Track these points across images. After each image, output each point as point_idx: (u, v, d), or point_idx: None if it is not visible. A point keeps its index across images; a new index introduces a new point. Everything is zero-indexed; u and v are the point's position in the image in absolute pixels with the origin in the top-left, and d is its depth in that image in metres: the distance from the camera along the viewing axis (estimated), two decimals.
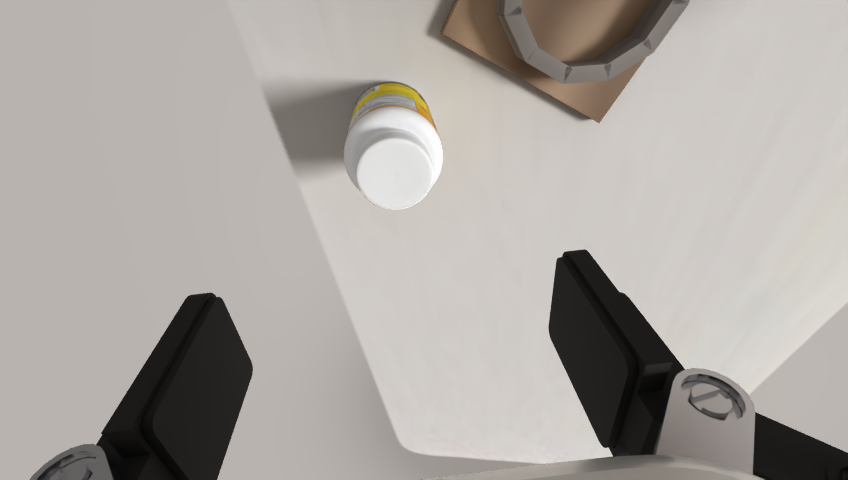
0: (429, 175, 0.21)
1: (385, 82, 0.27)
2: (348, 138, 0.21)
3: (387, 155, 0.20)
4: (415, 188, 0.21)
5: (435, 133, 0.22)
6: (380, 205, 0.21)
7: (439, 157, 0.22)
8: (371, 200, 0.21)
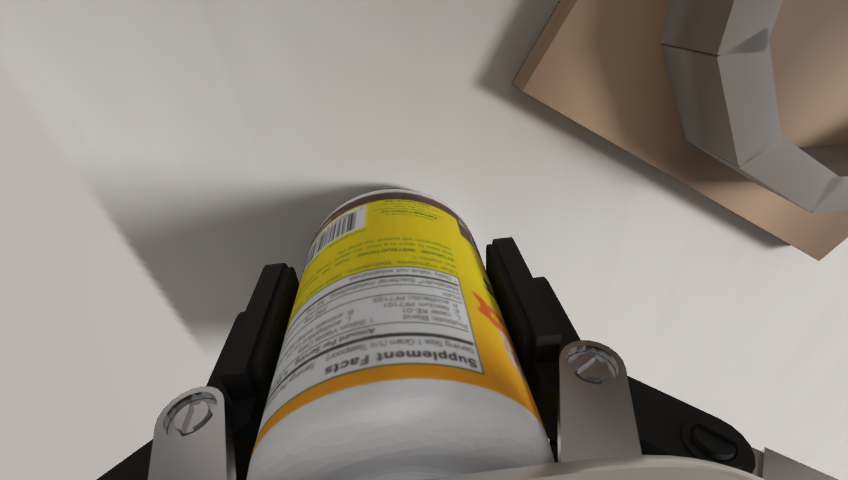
0: None
1: (381, 194, 0.12)
2: (252, 478, 0.06)
3: None
4: None
5: (544, 449, 0.07)
6: None
7: None
8: None
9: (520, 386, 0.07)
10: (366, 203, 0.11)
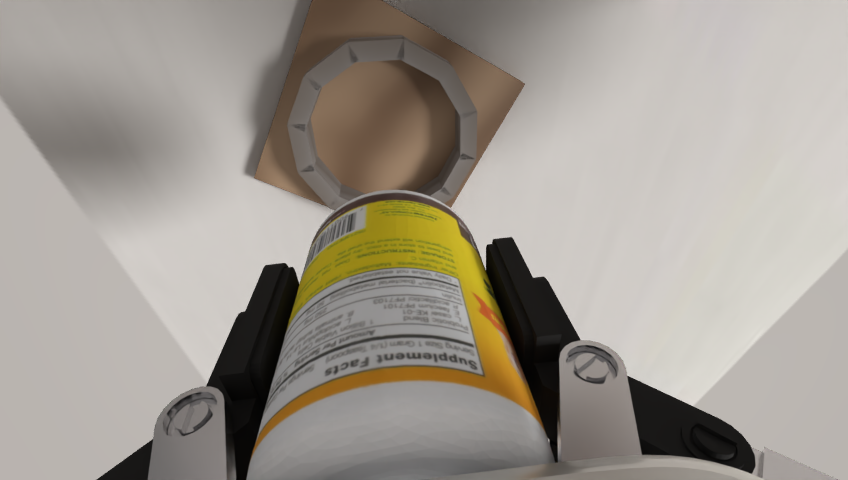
0: None
1: (380, 195, 0.12)
2: None
3: None
4: None
5: (544, 451, 0.07)
6: None
7: None
8: None
9: (520, 388, 0.07)
10: (366, 204, 0.11)
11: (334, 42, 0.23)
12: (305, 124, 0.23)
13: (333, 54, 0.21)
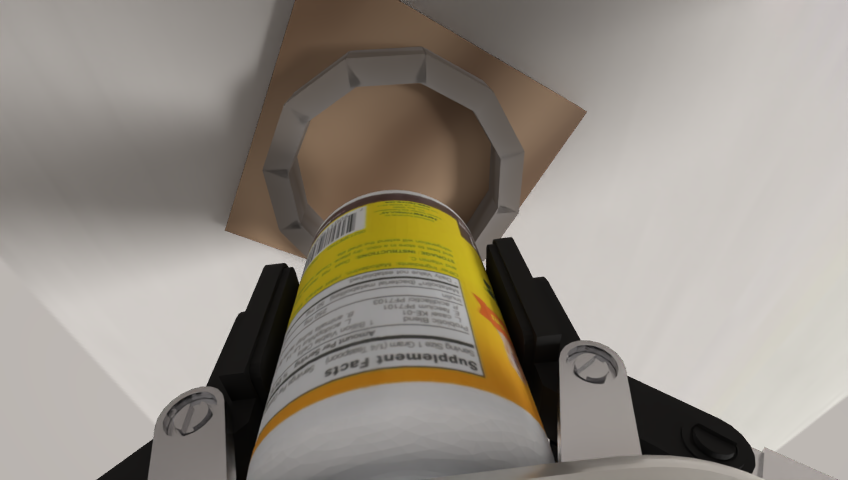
0: None
1: (380, 195, 0.12)
2: None
3: None
4: None
5: (545, 452, 0.07)
6: None
7: None
8: None
9: (521, 389, 0.07)
10: (366, 204, 0.11)
11: (327, 56, 0.16)
12: (287, 169, 0.17)
13: (325, 75, 0.15)
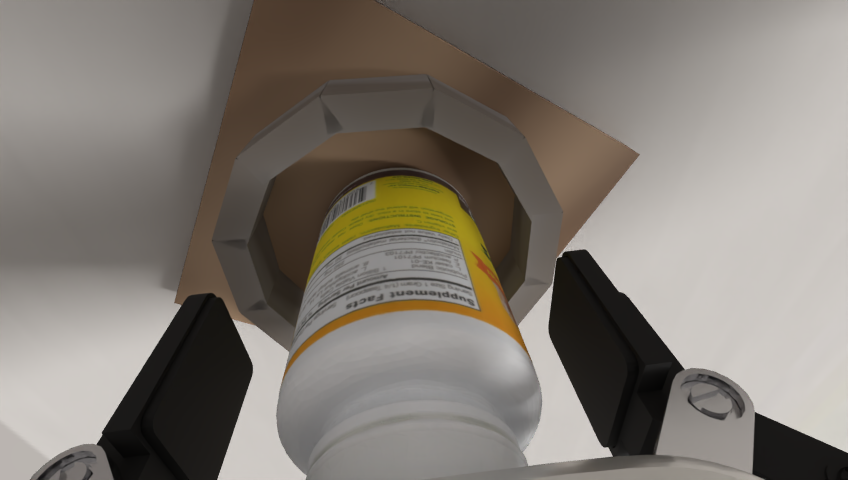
0: None
1: (388, 171, 0.13)
2: (285, 394, 0.07)
3: None
4: None
5: (531, 374, 0.08)
6: None
7: (534, 422, 0.08)
8: None
9: (511, 325, 0.08)
10: (375, 179, 0.12)
11: (299, 87, 0.12)
12: (246, 239, 0.12)
13: (292, 119, 0.11)
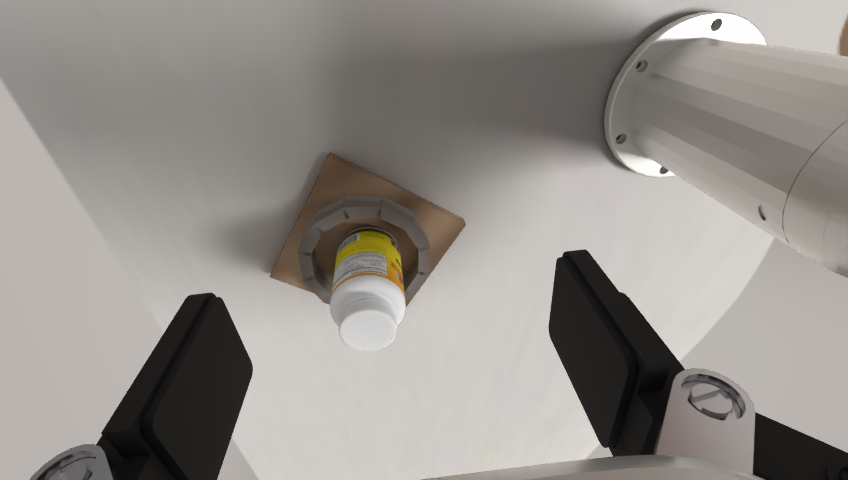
0: (393, 331, 0.28)
1: (365, 229, 0.34)
2: (334, 296, 0.29)
3: (363, 319, 0.27)
4: (382, 339, 0.28)
5: (400, 294, 0.29)
6: (356, 349, 0.28)
7: (402, 309, 0.30)
8: (349, 346, 0.28)
9: (397, 282, 0.30)
10: (360, 232, 0.34)
11: (333, 198, 0.33)
12: (310, 252, 0.33)
13: (333, 214, 0.32)
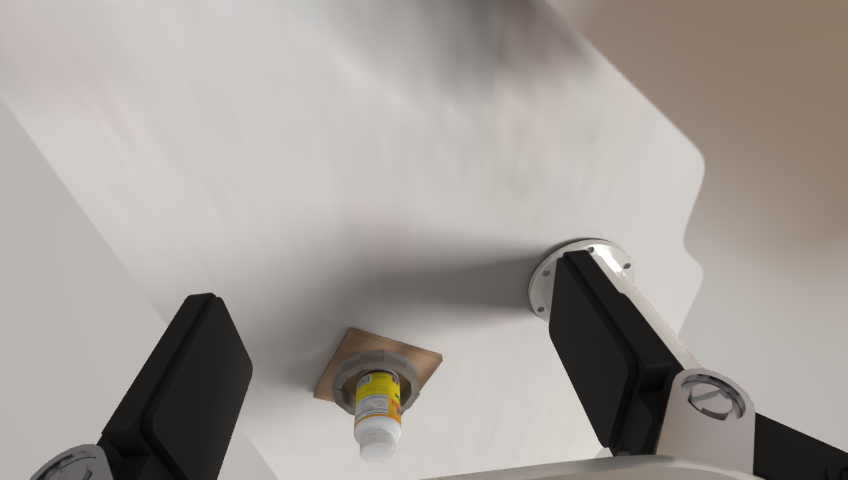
0: (393, 452, 0.45)
1: (374, 370, 0.52)
2: (356, 429, 0.46)
3: (374, 448, 0.45)
4: (386, 456, 0.46)
5: (397, 425, 0.47)
6: None
7: (399, 433, 0.47)
8: (366, 460, 0.46)
9: (395, 416, 0.47)
10: (371, 373, 0.51)
11: (353, 353, 0.51)
12: (340, 388, 0.51)
13: (353, 367, 0.49)
